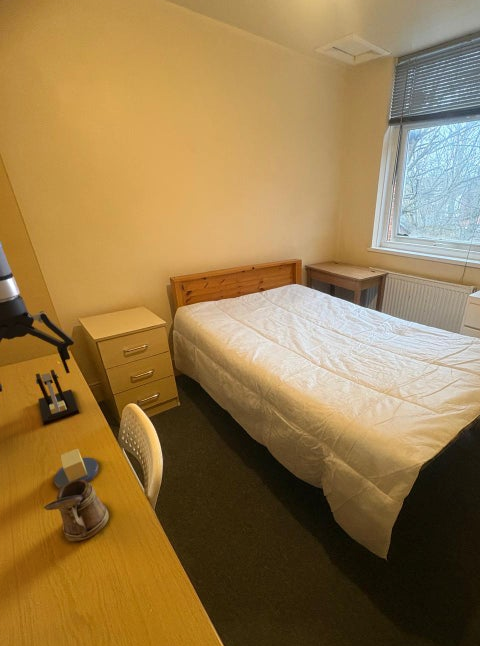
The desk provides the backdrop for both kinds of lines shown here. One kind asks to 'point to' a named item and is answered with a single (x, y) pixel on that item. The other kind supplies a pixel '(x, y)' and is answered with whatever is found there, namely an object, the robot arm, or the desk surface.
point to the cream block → (61, 406)
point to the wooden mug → (79, 510)
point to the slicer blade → (53, 398)
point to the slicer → (60, 396)
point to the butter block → (73, 465)
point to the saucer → (91, 471)
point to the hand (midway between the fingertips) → (35, 379)
